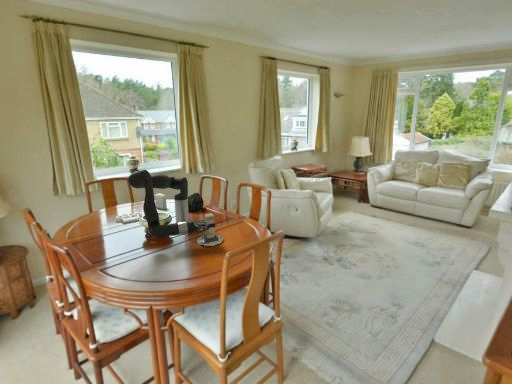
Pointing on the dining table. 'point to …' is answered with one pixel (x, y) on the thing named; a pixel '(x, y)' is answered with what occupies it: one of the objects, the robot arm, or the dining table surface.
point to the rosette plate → (209, 240)
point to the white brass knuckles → (129, 217)
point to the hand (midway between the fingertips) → (213, 223)
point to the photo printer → (160, 201)
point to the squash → (195, 202)
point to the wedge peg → (209, 220)
